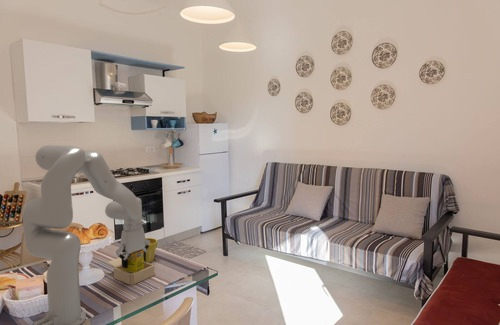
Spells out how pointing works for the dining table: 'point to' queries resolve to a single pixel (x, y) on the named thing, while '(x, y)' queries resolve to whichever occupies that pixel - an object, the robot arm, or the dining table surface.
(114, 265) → the flap
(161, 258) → the dining table surface
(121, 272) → the carton
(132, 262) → the supplement box
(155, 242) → the plant pot
